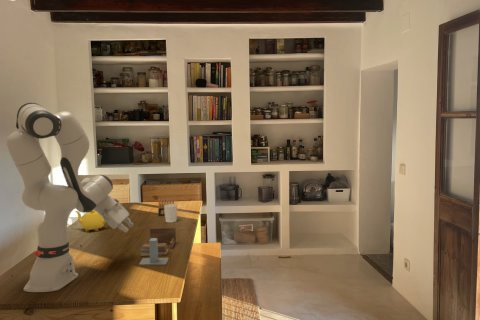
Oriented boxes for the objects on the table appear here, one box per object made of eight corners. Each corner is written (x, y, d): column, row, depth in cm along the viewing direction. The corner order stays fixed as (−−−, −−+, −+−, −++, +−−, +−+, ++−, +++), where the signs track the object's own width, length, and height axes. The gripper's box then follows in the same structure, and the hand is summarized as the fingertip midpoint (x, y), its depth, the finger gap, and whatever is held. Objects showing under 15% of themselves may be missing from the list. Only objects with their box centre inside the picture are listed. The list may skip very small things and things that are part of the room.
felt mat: (166, 265, 193) (166, 263, 193) (139, 265, 193) (138, 264, 193) (168, 258, 201) (168, 257, 201) (142, 259, 201) (142, 258, 201)
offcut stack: (166, 255, 206) (165, 246, 205) (140, 256, 206) (140, 246, 205) (167, 252, 211) (167, 242, 211) (142, 252, 211) (142, 243, 211)
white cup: (178, 219, 275) (177, 203, 274) (176, 222, 267) (176, 206, 266) (165, 219, 274) (165, 204, 273) (163, 223, 267) (163, 206, 266)
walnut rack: (173, 248, 217) (172, 232, 216) (147, 248, 216) (146, 233, 216) (176, 242, 226) (175, 227, 225) (150, 243, 226) (150, 227, 225)
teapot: (114, 225, 263) (113, 206, 262) (107, 232, 248) (106, 212, 247) (81, 226, 263) (80, 207, 261) (72, 232, 248) (70, 213, 247)
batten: (156, 262, 195) (155, 240, 194) (150, 262, 195) (149, 240, 194) (158, 259, 199) (157, 238, 198) (151, 259, 199) (150, 238, 198)
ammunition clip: (158, 216, 285) (157, 198, 283) (158, 215, 287) (158, 197, 285) (174, 215, 285) (174, 197, 283) (175, 215, 286) (174, 197, 285)
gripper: (105, 207, 185) (129, 229, 186) (118, 198, 206) (139, 218, 207) (95, 217, 186) (119, 240, 187) (108, 208, 206) (130, 228, 207)
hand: (129, 228), depth 197 cm, fingers open, 8 cm apart
